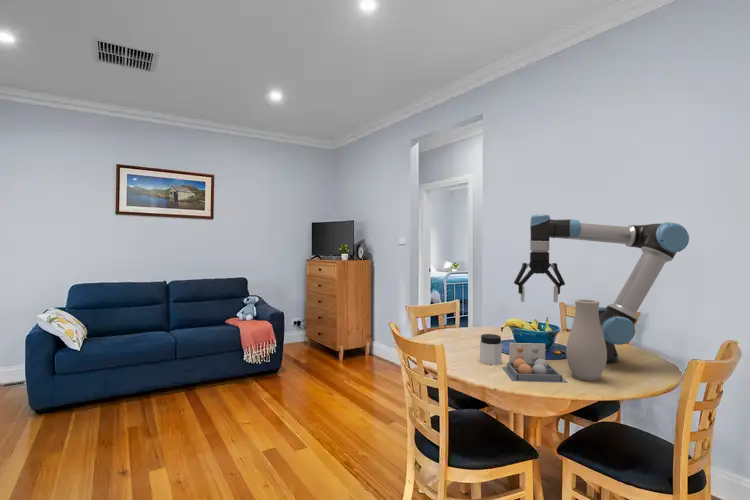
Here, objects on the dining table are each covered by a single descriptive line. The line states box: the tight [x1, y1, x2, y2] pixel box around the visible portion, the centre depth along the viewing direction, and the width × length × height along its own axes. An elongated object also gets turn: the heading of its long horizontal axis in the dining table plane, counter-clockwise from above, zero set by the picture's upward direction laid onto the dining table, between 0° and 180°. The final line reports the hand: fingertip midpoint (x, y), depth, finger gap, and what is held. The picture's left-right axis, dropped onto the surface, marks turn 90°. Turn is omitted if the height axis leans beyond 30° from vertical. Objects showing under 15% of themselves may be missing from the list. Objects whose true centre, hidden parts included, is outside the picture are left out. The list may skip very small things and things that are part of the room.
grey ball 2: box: [532, 364, 547, 375], centre depth 157 cm, size 5×5×5 cm
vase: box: [565, 298, 607, 382], centre depth 157 cm, size 14×14×30 cm
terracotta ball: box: [513, 358, 526, 368], centre depth 164 cm, size 5×5×5 cm
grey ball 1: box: [534, 359, 549, 369], centre depth 163 cm, size 5×5×5 cm
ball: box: [518, 364, 532, 374], centre depth 157 cm, size 5×5×5 cm
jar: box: [479, 333, 503, 366], centre depth 176 cm, size 9×8×12 cm
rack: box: [501, 342, 569, 384], centre depth 160 cm, size 20×17×11 cm
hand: (538, 301), depth 175 cm, fingers open, 13 cm apart
